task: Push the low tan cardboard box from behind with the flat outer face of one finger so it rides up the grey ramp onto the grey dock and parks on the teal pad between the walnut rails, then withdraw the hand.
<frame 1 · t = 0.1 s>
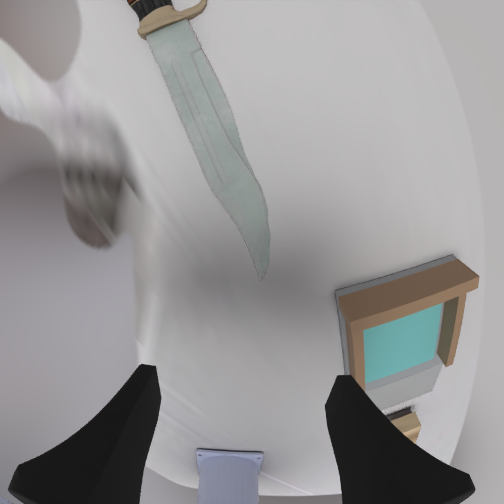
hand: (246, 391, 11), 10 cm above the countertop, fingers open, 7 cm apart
bay pad: (398, 340, 23), resting on dock
knife: (200, 82, 16), on the countertop
tan cardboard box: (389, 424, 29), on the countertop
dock: (395, 375, 25), on the countertop
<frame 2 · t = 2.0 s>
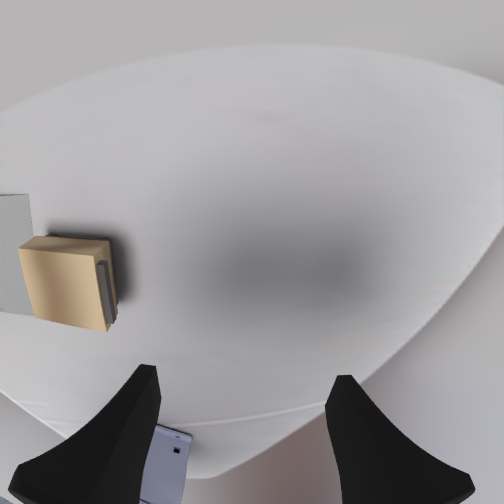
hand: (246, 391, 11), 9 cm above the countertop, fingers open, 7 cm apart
tan cardboard box: (82, 266, 19), on the countertop
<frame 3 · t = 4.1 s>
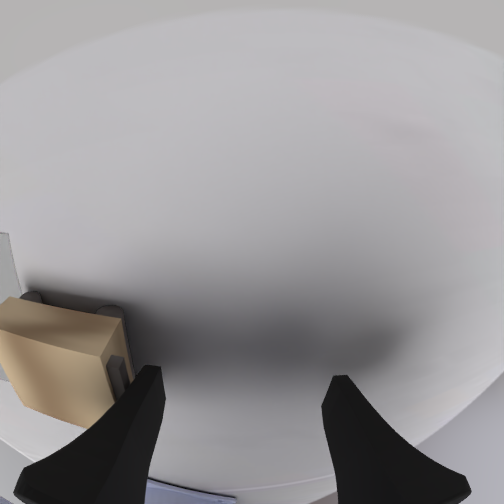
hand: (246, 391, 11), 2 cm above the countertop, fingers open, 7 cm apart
tan cardboard box: (81, 338, 12), on the countertop, touching gripper
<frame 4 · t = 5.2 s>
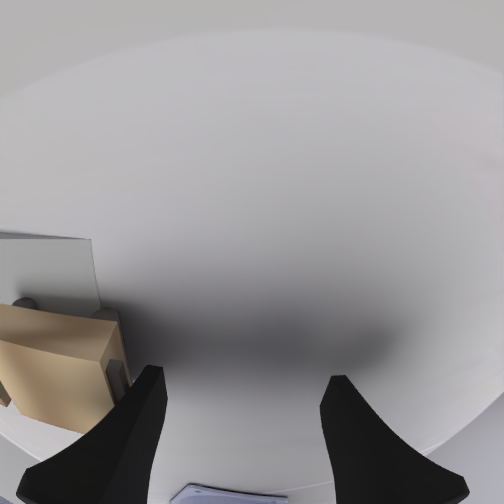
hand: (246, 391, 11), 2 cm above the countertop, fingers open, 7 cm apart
tan cardboard box: (76, 343, 12), touching gripper
dock: (20, 324, 12), on the countertop
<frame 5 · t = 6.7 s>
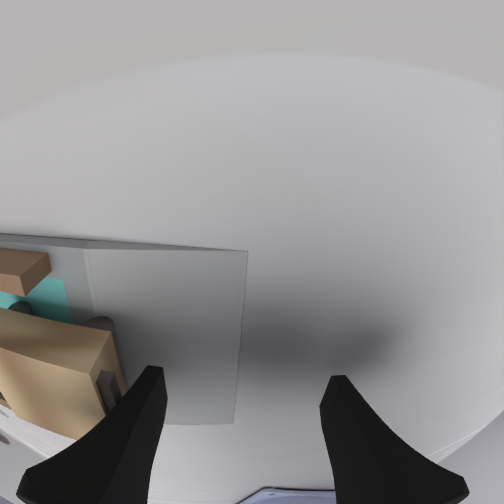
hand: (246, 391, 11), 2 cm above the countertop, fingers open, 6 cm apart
bay pad: (34, 328, 12), resting on dock
tan cardboard box: (73, 349, 11), point 1 cm above the countertop, touching gripper
dock: (115, 346, 12), on the countertop
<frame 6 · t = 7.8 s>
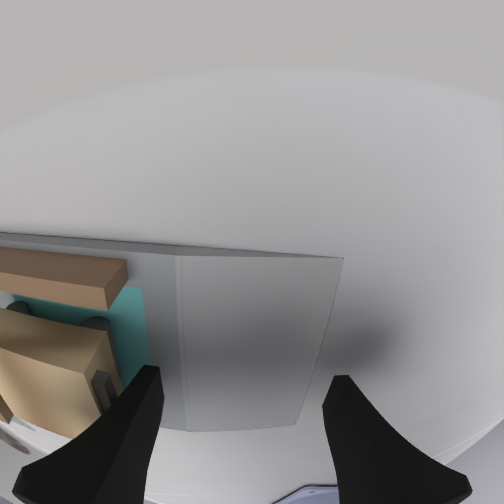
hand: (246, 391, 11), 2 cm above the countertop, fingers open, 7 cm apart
bay pad: (87, 340, 12), resting on dock
tan cardboard box: (70, 349, 11), point 1 cm above the countertop, touching bay pad, gripper
dock: (188, 356, 12), on the countertop
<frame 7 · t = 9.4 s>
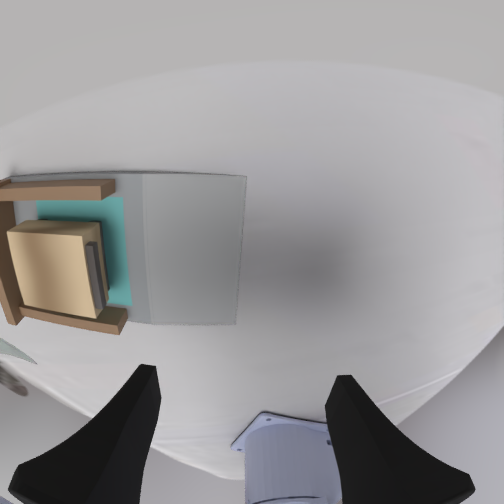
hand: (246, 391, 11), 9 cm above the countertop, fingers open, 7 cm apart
bay pad: (86, 247, 18), resting on dock
tan cardboard box: (73, 251, 18), point 1 cm above the countertop, touching bay pad
dock: (152, 252, 19), on the countertop
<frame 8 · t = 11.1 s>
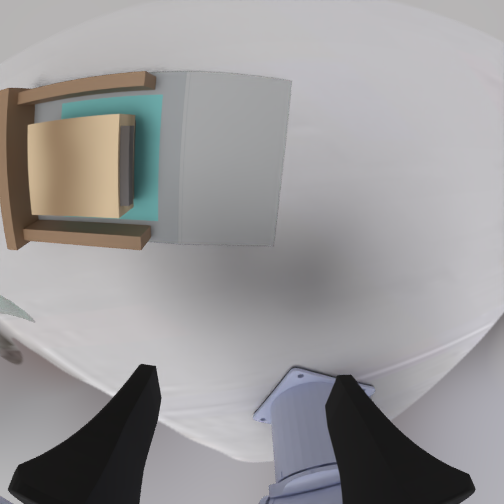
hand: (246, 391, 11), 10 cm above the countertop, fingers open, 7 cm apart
bay pad: (110, 157, 17), resting on dock
tan cardboard box: (96, 159, 16), point 1 cm above the countertop, touching bay pad
dock: (186, 158, 17), on the countertop
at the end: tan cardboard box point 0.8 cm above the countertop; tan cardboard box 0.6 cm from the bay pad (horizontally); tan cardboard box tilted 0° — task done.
